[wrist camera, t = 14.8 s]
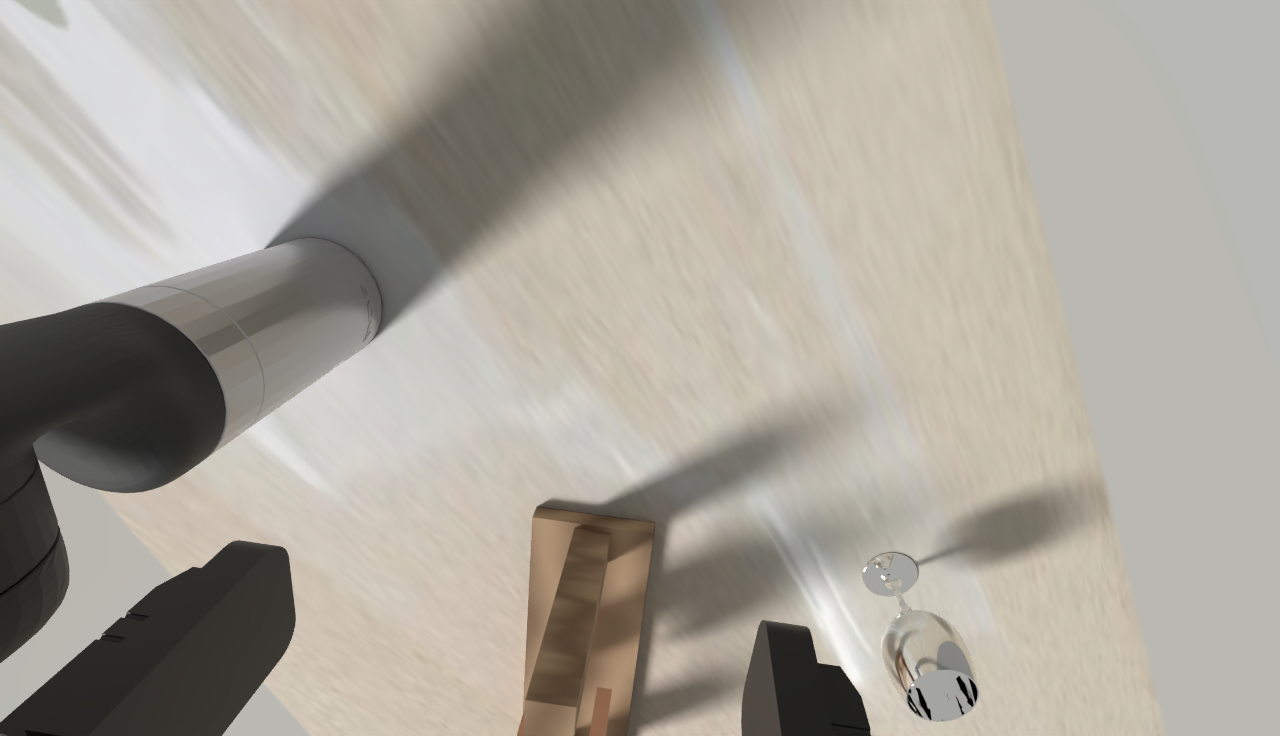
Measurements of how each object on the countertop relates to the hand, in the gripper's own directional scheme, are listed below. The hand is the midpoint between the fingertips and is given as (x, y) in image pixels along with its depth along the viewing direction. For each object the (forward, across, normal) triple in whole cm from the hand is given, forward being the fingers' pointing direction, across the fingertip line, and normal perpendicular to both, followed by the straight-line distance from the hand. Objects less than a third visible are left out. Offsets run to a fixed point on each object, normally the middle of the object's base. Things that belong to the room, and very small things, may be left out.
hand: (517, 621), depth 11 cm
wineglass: (+36, -23, +25) cm, 50 cm away
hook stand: (+36, +2, +38) cm, 52 cm away
